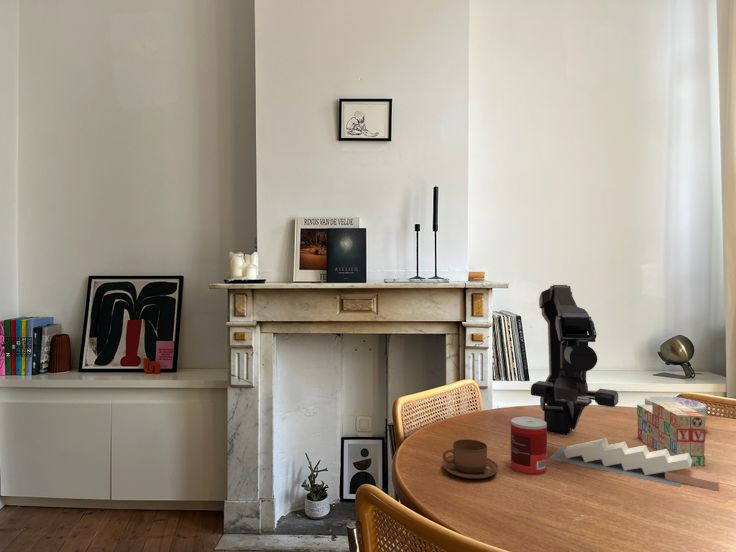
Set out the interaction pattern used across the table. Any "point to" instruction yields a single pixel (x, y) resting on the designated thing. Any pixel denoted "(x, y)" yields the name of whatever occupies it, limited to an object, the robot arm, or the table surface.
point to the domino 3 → (628, 456)
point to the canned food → (529, 445)
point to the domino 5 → (670, 464)
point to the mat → (613, 468)
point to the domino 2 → (607, 452)
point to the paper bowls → (686, 402)
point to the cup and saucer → (469, 460)
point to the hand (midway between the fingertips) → (573, 429)
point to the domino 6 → (693, 478)
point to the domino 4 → (648, 460)
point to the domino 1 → (586, 448)
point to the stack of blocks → (673, 429)
